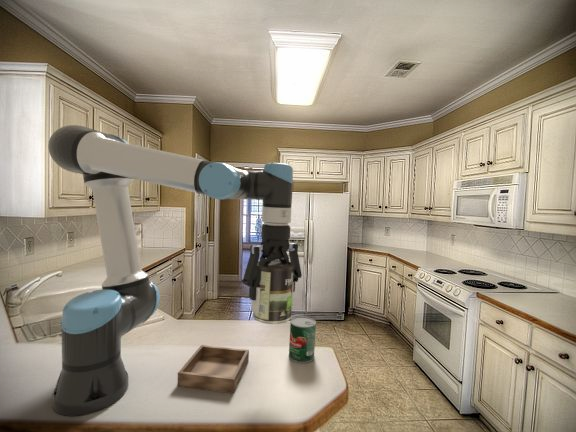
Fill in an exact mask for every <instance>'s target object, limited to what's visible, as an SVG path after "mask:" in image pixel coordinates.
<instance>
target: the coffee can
mask: <svg viewBox="0 0 576 432" xmlns="http://www.w3.org/2000/svg"><path fill="white" fill-rule="evenodd" d="M259 261H260V260H258V263H259ZM289 262H290V261H289ZM256 269H257V270H261V280H260V282H259V284H258V287H260V307H259V313H258V314H256V313H254V312H253V311H252V313H253V314H252V317H253V319H254V320H255V321H256V322H259V323H262V324H266V325H267V324H268V325H279V324H280V325H281V324H285V323H287V322H289V321H291V319H292V309H293V308H292V307H293V305H292V288H293V269H294V264H293V263H291V262H290V264H284V263H281V262H280V260H279V259H276V260H272V261H271V263H270V264H268V266H267V267H264V266H260V265H258V264H257V267H256Z"/></svg>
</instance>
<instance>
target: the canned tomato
mask: <svg viewBox="0 0 576 432" xmlns="http://www.w3.org/2000/svg"><path fill="white" fill-rule="evenodd" d="M289 321H290V325H289V327H290V328H289V343H288V344H289V345H288V346H289V347H288V358H289V359H290V360H291V361H293V362H295V363H298V364H299V363H301V364H306V363H307V364H308V363H311V362H312V361H313V360H314V358H315V348H316V347H315V345H316V331H317V330H316V329H317V327H316V324H317V321H316V320H315V319H314V318H311V317H309V316H295V317H293V318H292V317H291V319H290V320H289Z"/></svg>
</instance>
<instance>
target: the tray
mask: <svg viewBox="0 0 576 432" xmlns="http://www.w3.org/2000/svg"><path fill="white" fill-rule="evenodd" d="M249 353H250V349H243V348H234V347H233V348H232V347H224V346H223V347H222V346H216V345H215V346H214V345H213V346H212V345H205V344H201V345H200V346H199V347H198V348H197V350H196V351H195V352H193V354H192V355H191V357H190V358H189V359H188V360H187V361H186V362H185V363H184V365H183V366H182V368H181V369H179V371H178V372H177V387H180V388H188V389H189V388H190V389H198V390H204V391H213V392H223V393H230V394H234V393H235V392H236V390H237V388H238V385H239V383H240V380H241V379H242V376H243V375H244V371H246V368H247V365H248V364H249V358H250V354H249Z"/></svg>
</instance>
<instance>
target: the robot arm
mask: <svg viewBox="0 0 576 432" xmlns="http://www.w3.org/2000/svg"><path fill="white" fill-rule="evenodd" d="M47 147H48V152H49V155H50V158H51V159H52V160H53V162H55V164H56V165H57V166H59V168H61V169H63V170H66V171H67V172H69V173H70V172H71V173H75V174H80V175H82V178H83V182H84V186H85V187H87V188H89V189H90V190H91V191H92V196H93V203H94V207H95V208H94V209H95V214H96V221H97V225H98V231H99V232H98V233H99V237H100V244H101V250H102V253H103V254H102V256H103V263H104V268H105V272H106V273H105V274H106V278H105V279H104V281H103V282H102V283H101V289H97V290H92V291H91V292H90V291H89V292H84V293H82V294H79V295H76V296H75V297H72V298H71V299H69V301H68V302H66V304H65V305H64V306H63V308H62V317H61V321H60V327H61V370H60V374H59V376H58V379H57V381H56V384H55V388H54V389H53V391H52V392H53V393H52V397H51V399H52V400H51V402H52V404H51V405H52V406H51V407H52V409H53V411H54V412H55V413H57V414H58V415H59V414H60V415H63V416H73V417H75V416H81V415H87V414H92V413H95V412H97V411H101V410H102V409H106V408H107V407H109V406H111V405H113V404H114V403H116V402H117V401H118V400H120V399H121V398H122V397H123V396H124V395H125V394H126V392H127V390H128V389H129V388H128V387H129V374H128V372H127V370H126V368H125V365H124V361H123V359H122V354H121V352H122V350H121V349H122V337H123V336H125V335H126V334H127V333H130V331H132V330H135V328H137V327H138V326H139V325H141V324H144V323H145V322H147V320H149V319H150V318H151V317H152V316H153V315H154V314H155V313H156V311H157V310H158V308H159V306H160V300H161V299H160V298H161V296H160V295H161V294H160V291H159V288H158V286H157V284H154V282H153V281H151V280H150V277H149V274H148V273H147V272H146V271H144V270H143V269H142V267H141V266H142V265H141V259H140V251H139V246H138V241H137V240H138V239H137V236H136V234H137V233H136V229H135V223H134V216H133V211H132V206H131V205H132V204H131V198H130V192H129V186H130V184H132V182H133V181H134V180H138V181H143V182H147V183H151V184H154V185H160V186H163V187H169V188H173V189H178V190H183V191H187V192H190V193H191V192H192V193H195V194H198V195H199V194H200V195H204V196H206V197H207V196H208V197H209V198H211V199H214V200H219V201H222V200H223V201H224V200H256V201H262V209H261V211H262V212H261V222H262V224H261V234H260V236H261V237H260V238H261V243H260V245H254V244H251V245H250V247H249V249H250V254H249V258H248V261H247V265H246V267H245V268H246V269H245V271H244V275H243V278H242V284H243V285H245V286H247V287H249V288H248V289H249V291H248V292H249V293H248V298H249V299H250V300H251V301H250V302H251V305H250V311H251V312H252V313H253V312H254V313H256V314H258V313H259V307H260V287H258V284H259V282H260V280H261V270H257V269H256V267H257V264H258V265H260V266H264V267H267V266H268V264H270V263H271V261H272V260H280V262H281V263H284V264H290V262H291V263H293V264H294V269H293V288H292V306H293V303H294V300H293V299H294V293H295V291H296V283H297V282H298V281H299V279H301V278H302V275H303V274H302V269H301V265H300V258H299V253H298V252H299V245H298V243H295V242H290V241H289V240H290V239H291V225H290V223H291V221H292V203H293V201H292V200H293V187H294V181H293V180H294V178H293V177H294V175H293V173H294V172H293V171H294V170H293V169H294V168H293V167H292V165H290V164H288V163H281V162H267V163H265V164H264V166H263V169H262V170H247V169H246V170H245V169H244V170H243V169H240V168H238V167H233V166H232V165H230V164H229V163H225V162H222V161H221V162H220V161H210V160H206V159H201V158H196V157H194V156H193V157H192V156H188V155H185V154H179V153H174V152H169V151H165V150H160V149H155V148H151V147H147V146H146V147H145V146H142V145H136V144H132V143H129V141H127V140H126V139H124V138H121V137H120V136H117V135H115V134H112V133H106V132H104V131H103V132H102V131H100V130H95V129H92V128H90V127H86V126H83V125H77V124H70V125H64V126H62V127H60V128H58V129H56V130H55V131H54V132H53V133H52V134H51V135H50V138H49V140H48V146H47ZM287 252H288V253H287ZM260 254H261V255H260ZM258 261H259V263H258Z"/></svg>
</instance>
